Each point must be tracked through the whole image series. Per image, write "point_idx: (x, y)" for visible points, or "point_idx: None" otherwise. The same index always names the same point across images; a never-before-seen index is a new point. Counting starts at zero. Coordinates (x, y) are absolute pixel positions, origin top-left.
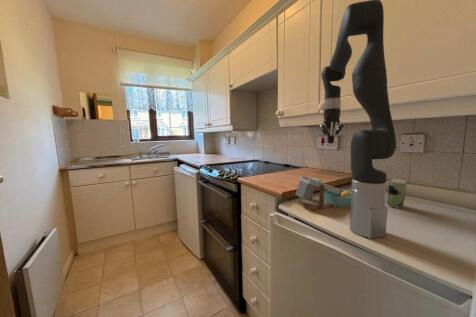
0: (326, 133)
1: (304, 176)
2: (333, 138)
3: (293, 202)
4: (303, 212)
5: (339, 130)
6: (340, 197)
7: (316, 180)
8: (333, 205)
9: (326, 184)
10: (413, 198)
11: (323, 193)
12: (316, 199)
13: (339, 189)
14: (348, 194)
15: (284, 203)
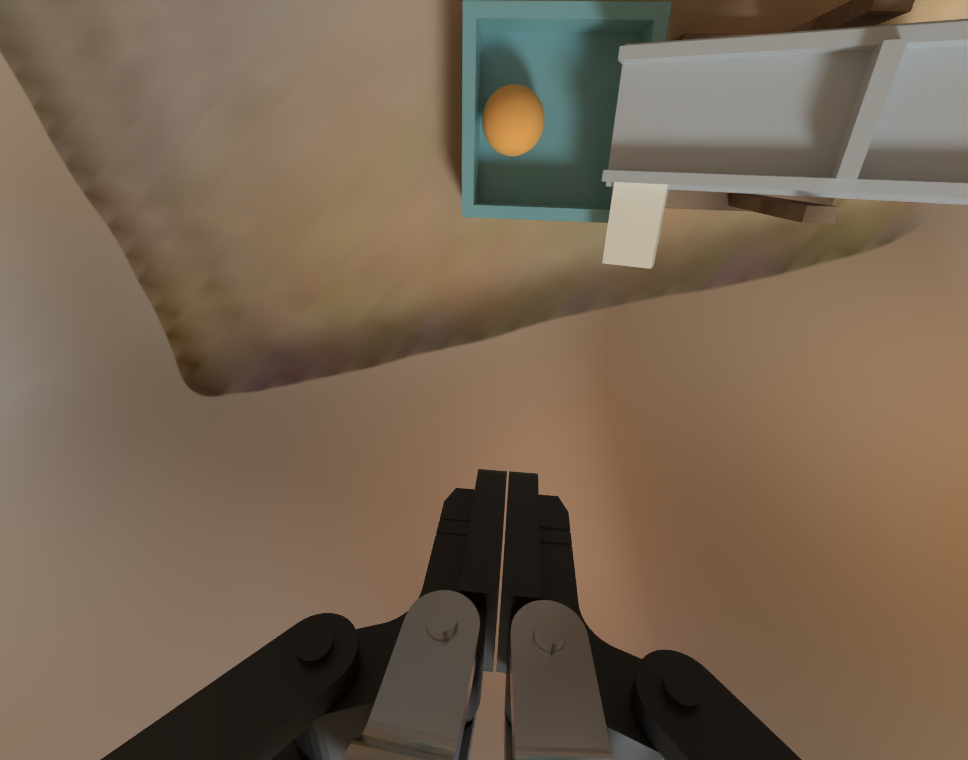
0: (738, 712)
1: (961, 188)
2: (472, 538)
3: (843, 222)
4: (956, 14)
5: (169, 753)
6: (512, 173)
7: (885, 92)
8: (689, 35)
9: (803, 33)
10: (37, 6)
11: (829, 13)
12: None
13: (635, 46)
14: (513, 87)
15: (911, 225)
